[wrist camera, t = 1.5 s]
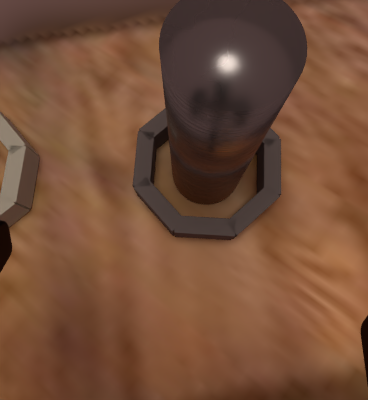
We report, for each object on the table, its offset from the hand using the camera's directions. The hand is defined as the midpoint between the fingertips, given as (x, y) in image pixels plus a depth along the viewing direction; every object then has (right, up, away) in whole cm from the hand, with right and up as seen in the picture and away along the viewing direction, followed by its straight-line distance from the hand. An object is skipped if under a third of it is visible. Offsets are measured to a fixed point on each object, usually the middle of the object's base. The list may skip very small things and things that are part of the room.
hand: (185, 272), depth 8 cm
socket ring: (+1, +4, +14) cm, 15 cm away
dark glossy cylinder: (+1, +4, +14) cm, 15 cm away
